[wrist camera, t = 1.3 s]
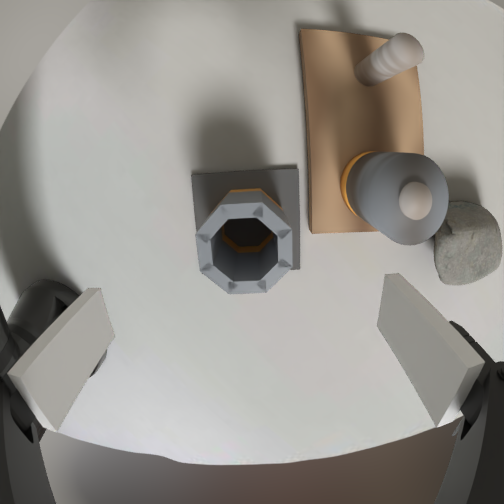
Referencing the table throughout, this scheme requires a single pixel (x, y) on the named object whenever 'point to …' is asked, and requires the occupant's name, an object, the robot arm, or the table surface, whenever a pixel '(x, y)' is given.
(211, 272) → the sleeve
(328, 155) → the pin board
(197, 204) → the pad
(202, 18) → the table surface
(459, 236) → the stone
